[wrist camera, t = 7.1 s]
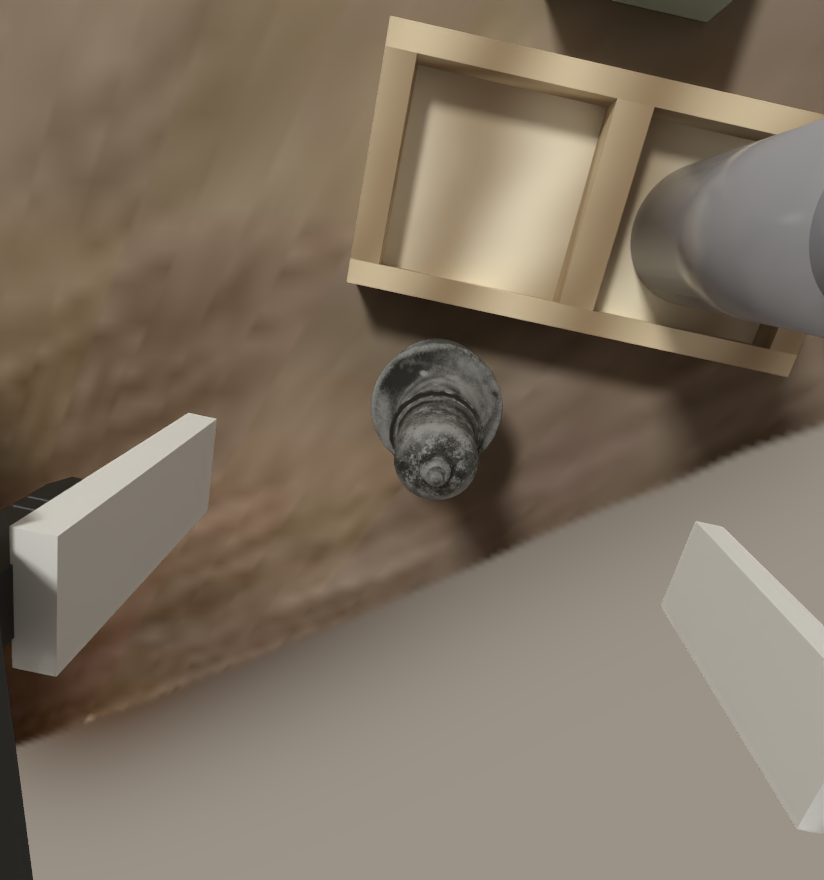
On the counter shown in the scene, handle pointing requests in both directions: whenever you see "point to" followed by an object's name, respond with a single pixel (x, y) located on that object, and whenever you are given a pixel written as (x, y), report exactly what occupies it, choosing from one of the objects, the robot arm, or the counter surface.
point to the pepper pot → (741, 233)
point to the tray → (543, 188)
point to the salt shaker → (436, 415)
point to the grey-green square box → (683, 7)
